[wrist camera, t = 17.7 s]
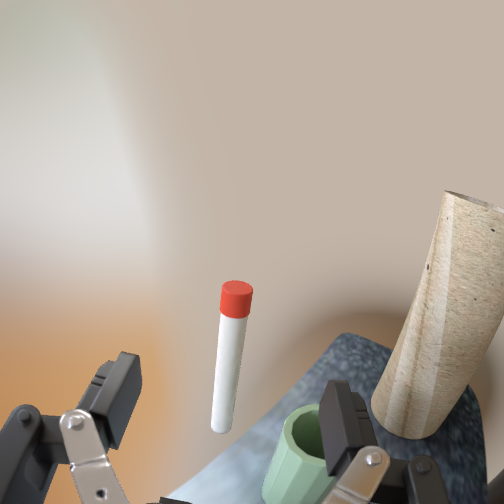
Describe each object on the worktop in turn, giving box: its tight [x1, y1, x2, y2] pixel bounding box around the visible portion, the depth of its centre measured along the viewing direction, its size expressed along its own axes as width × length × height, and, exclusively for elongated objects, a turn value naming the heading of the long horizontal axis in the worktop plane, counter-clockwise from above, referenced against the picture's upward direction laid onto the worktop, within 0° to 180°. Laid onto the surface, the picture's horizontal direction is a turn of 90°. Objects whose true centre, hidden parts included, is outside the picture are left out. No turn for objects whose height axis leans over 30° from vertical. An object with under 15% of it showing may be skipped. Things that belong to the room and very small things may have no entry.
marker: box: [211, 281, 253, 434], centre depth 26 cm, size 2×2×16 cm
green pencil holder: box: [262, 405, 337, 504], centre depth 20 cm, size 6×6×10 cm
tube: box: [371, 191, 504, 439], centre depth 27 cm, size 10×10×25 cm
